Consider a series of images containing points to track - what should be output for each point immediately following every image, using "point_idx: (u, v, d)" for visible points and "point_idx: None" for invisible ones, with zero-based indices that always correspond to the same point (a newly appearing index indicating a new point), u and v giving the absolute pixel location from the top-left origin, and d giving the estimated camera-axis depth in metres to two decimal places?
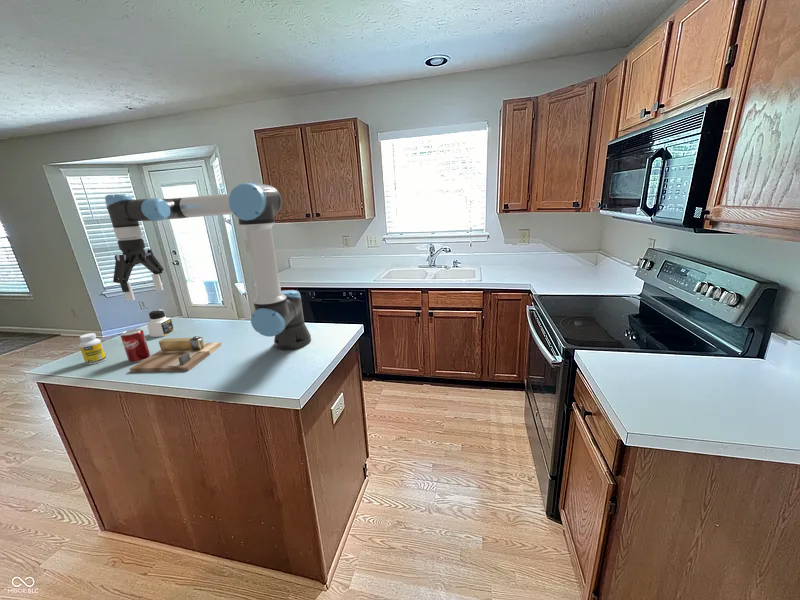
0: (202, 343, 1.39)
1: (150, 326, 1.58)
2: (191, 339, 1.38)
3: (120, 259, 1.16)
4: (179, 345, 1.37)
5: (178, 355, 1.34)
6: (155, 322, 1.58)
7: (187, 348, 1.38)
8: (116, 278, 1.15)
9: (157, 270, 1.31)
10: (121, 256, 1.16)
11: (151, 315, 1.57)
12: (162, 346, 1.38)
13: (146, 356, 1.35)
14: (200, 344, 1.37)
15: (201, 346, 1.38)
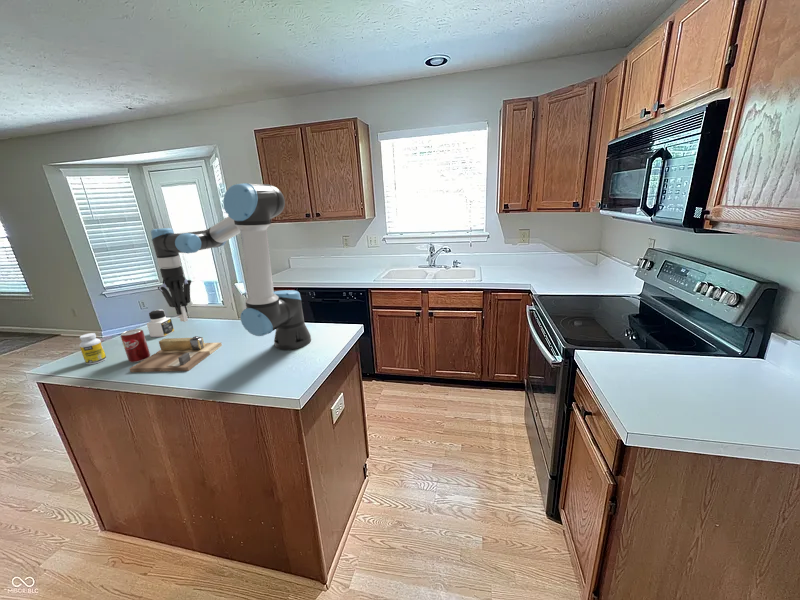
0: (202, 343, 1.39)
1: (150, 326, 1.58)
2: (191, 339, 1.38)
3: (163, 291, 1.33)
4: (179, 345, 1.37)
5: (178, 355, 1.34)
6: (155, 322, 1.58)
7: (187, 348, 1.38)
8: (170, 304, 1.37)
9: (184, 301, 1.41)
10: (162, 289, 1.32)
11: (151, 315, 1.57)
12: (162, 346, 1.38)
13: (146, 356, 1.35)
14: (200, 344, 1.37)
15: (201, 346, 1.38)
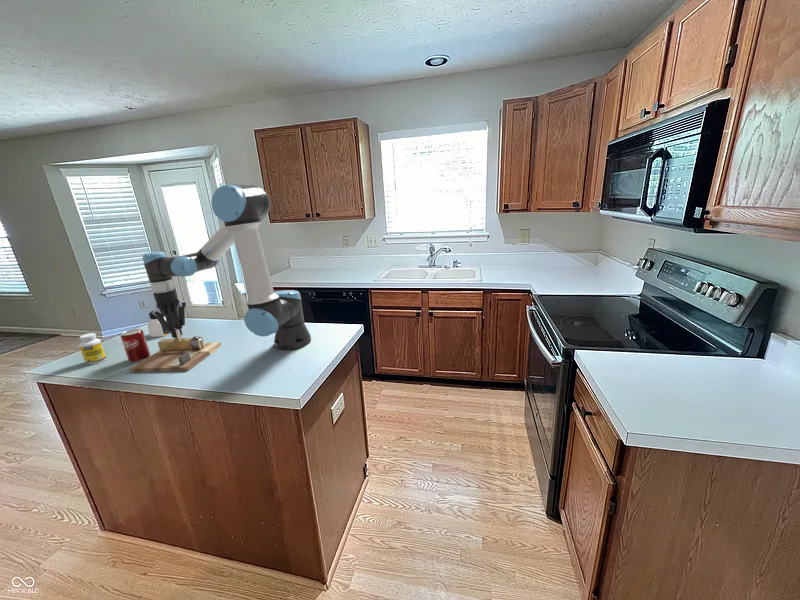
0: (202, 343, 1.39)
1: (150, 326, 1.58)
2: (191, 339, 1.38)
3: (157, 315, 1.32)
4: (179, 345, 1.37)
5: (178, 355, 1.34)
6: (155, 322, 1.58)
7: (187, 349, 1.38)
8: (165, 328, 1.36)
9: (178, 324, 1.39)
10: (156, 313, 1.31)
11: (151, 315, 1.57)
12: (161, 347, 1.37)
13: (146, 356, 1.35)
14: (200, 344, 1.38)
15: (201, 346, 1.38)
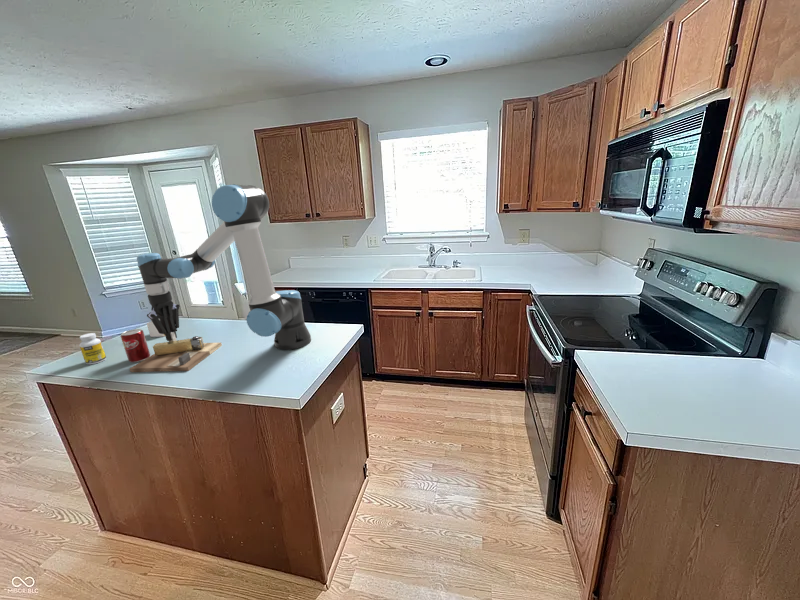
0: (202, 342, 1.40)
1: (150, 326, 1.58)
2: (191, 339, 1.37)
3: (153, 318, 1.29)
4: (178, 347, 1.35)
5: (178, 355, 1.34)
6: None
7: (187, 349, 1.37)
8: (160, 331, 1.33)
9: (173, 327, 1.37)
10: (152, 316, 1.28)
11: None
12: (157, 351, 1.34)
13: (146, 356, 1.35)
14: (201, 344, 1.38)
15: (202, 345, 1.39)
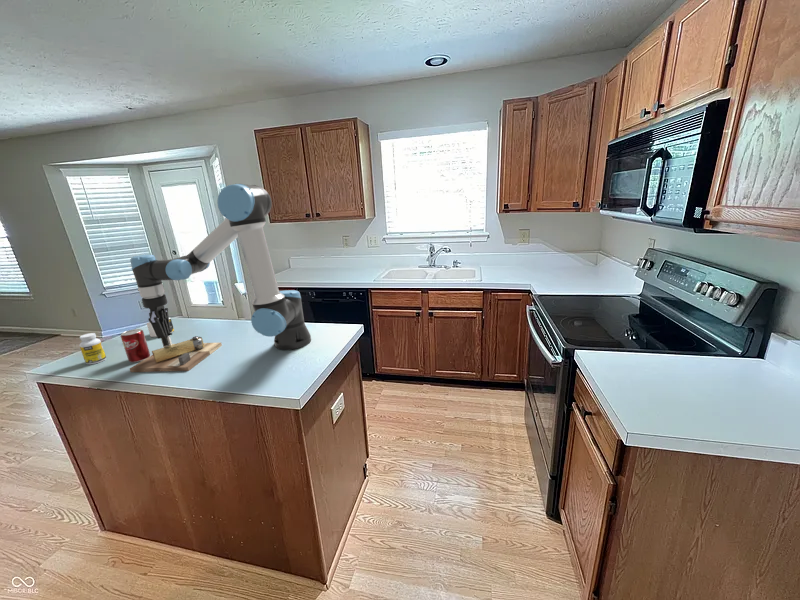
0: None
1: (150, 326, 1.58)
2: (191, 340, 1.37)
3: (156, 321, 1.25)
4: (180, 350, 1.33)
5: (178, 355, 1.34)
6: None
7: (190, 350, 1.36)
8: (160, 335, 1.28)
9: (168, 331, 1.33)
10: (156, 319, 1.24)
11: None
12: (158, 357, 1.28)
13: (146, 356, 1.35)
14: (202, 342, 1.39)
15: None
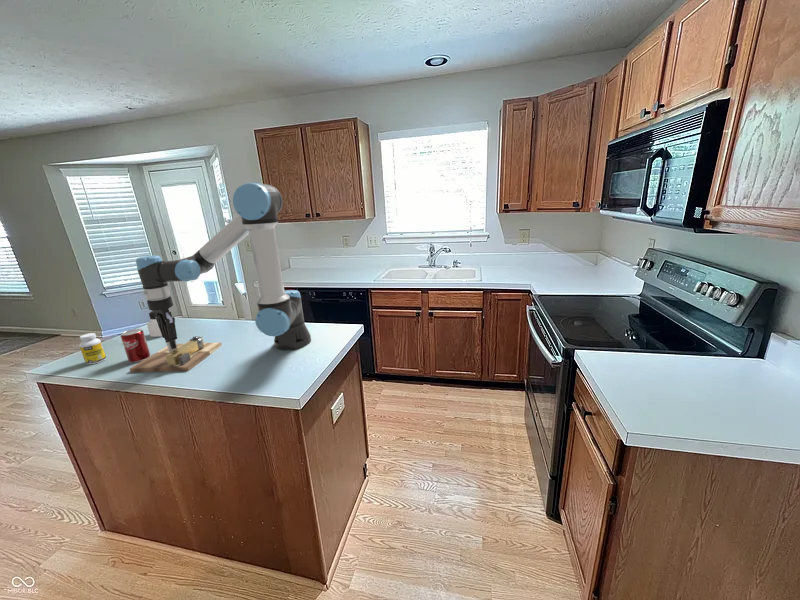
0: None
1: (150, 326, 1.58)
2: (194, 340, 1.36)
3: (173, 321, 1.23)
4: (189, 350, 1.32)
5: None
6: (155, 322, 1.58)
7: (196, 350, 1.36)
8: (173, 337, 1.25)
9: None
10: (174, 319, 1.23)
11: (151, 315, 1.57)
12: (176, 359, 1.25)
13: (146, 356, 1.35)
14: None
15: None
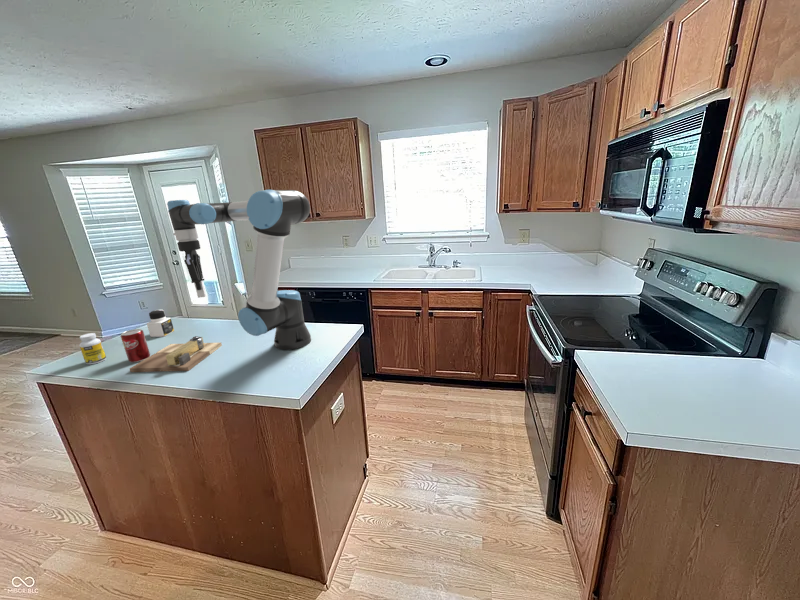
0: None
1: (150, 326, 1.58)
2: (194, 340, 1.36)
3: (191, 263, 1.30)
4: (189, 350, 1.32)
5: None
6: (155, 322, 1.58)
7: (196, 350, 1.36)
8: (194, 279, 1.34)
9: (201, 276, 1.39)
10: (191, 261, 1.30)
11: (151, 315, 1.57)
12: (176, 359, 1.25)
13: (146, 356, 1.35)
14: None
15: None
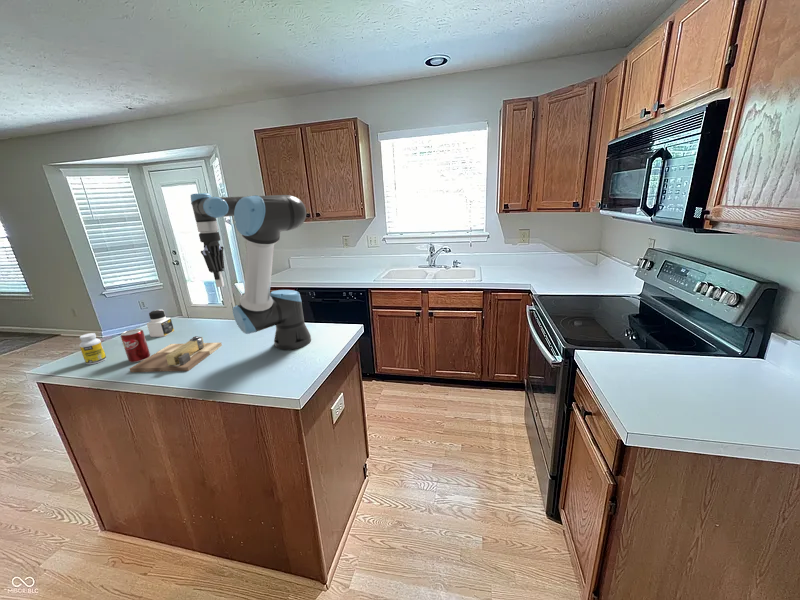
0: None
1: (150, 326, 1.58)
2: (194, 340, 1.36)
3: (207, 254, 1.37)
4: (189, 350, 1.32)
5: None
6: (155, 322, 1.58)
7: (196, 350, 1.36)
8: (211, 269, 1.40)
9: (220, 267, 1.45)
10: (206, 252, 1.36)
11: (151, 315, 1.57)
12: (176, 359, 1.25)
13: (146, 356, 1.35)
14: None
15: None
